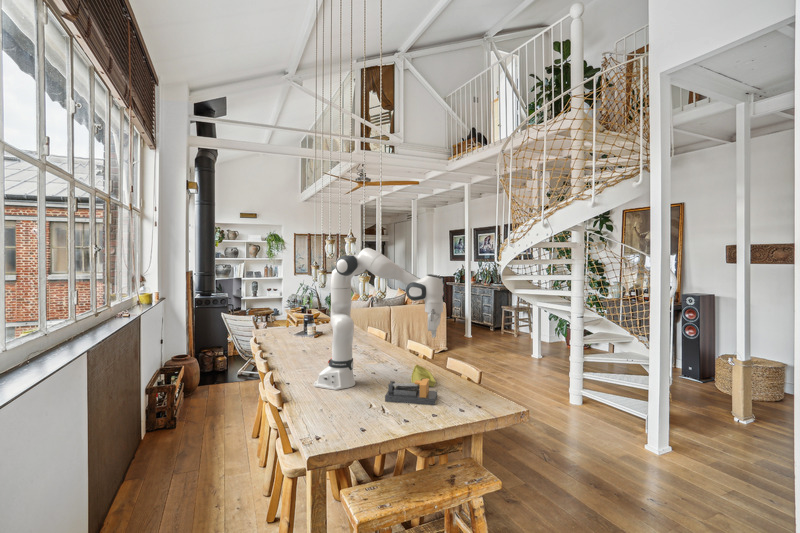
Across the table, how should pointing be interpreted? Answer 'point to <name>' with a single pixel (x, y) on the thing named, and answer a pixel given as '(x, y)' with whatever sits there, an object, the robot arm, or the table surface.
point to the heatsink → (409, 395)
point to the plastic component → (422, 375)
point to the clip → (423, 387)
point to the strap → (404, 384)
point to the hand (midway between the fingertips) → (434, 336)
